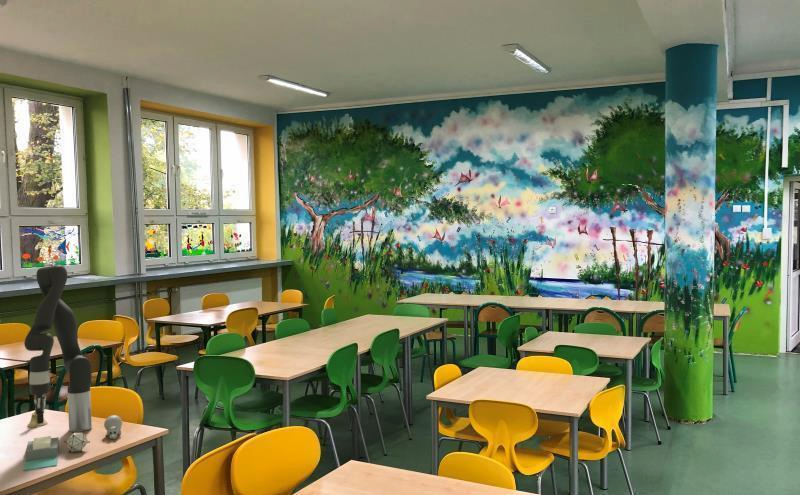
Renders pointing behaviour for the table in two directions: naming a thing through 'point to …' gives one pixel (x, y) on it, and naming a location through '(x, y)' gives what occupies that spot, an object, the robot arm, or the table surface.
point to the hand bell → (35, 420)
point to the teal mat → (40, 463)
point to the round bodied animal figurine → (113, 426)
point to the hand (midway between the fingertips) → (40, 423)
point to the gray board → (42, 451)
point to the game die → (77, 441)
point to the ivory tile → (42, 442)
